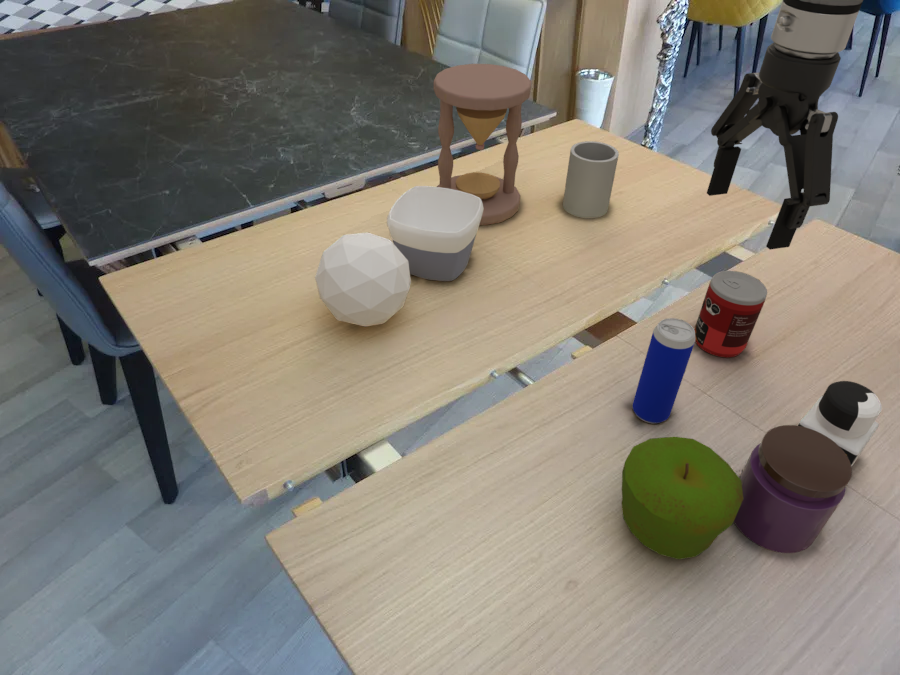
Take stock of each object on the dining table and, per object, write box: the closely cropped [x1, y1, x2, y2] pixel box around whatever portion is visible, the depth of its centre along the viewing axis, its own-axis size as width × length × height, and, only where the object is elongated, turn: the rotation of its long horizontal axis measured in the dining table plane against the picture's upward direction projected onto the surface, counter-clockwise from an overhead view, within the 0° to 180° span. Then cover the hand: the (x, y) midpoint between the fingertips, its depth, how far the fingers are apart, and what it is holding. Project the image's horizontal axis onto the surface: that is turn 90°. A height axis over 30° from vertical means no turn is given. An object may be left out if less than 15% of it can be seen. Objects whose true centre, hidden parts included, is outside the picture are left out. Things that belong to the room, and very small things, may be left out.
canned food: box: [694, 270, 768, 358], centre depth 101 cm, size 8×8×11 cm
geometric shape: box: [314, 232, 412, 327], centre depth 103 cm, size 14×15×15 cm
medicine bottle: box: [797, 380, 883, 467], centre depth 83 cm, size 7×7×12 cm
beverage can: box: [632, 317, 696, 425], centre depth 88 cm, size 5×5×15 cm
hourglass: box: [433, 63, 532, 226], centre depth 128 cm, size 18×18×25 cm
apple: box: [621, 436, 743, 560], centre depth 75 cm, size 12×12×11 cm
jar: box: [733, 424, 853, 554], centre depth 76 cm, size 10×10×11 cm
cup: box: [562, 140, 620, 219], centre depth 132 cm, size 9×9×12 cm
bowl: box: [386, 185, 484, 282], centre depth 116 cm, size 15×15×11 cm
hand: (745, 218), depth 86 cm, fingers open, 13 cm apart
